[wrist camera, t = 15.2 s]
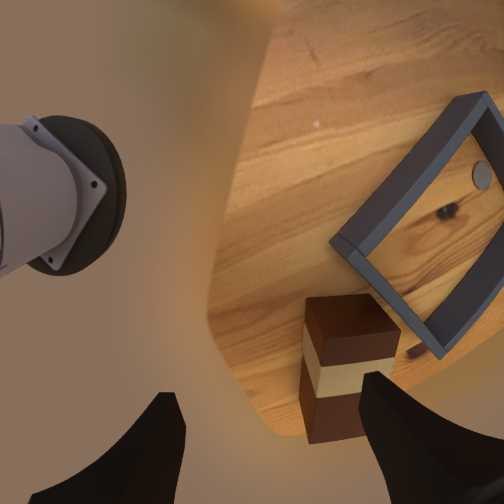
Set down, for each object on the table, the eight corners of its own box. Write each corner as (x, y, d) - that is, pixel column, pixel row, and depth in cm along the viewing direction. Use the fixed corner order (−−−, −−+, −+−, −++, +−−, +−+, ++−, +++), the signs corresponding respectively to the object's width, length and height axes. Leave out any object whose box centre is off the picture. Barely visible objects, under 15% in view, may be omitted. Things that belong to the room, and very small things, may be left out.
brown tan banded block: (297, 397, 22) (308, 445, 17) (305, 297, 19) (323, 339, 15) (352, 391, 22) (371, 435, 17) (370, 292, 20) (403, 330, 15)
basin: (328, 242, 18) (345, 259, 15) (455, 95, 16) (486, 89, 12) (418, 337, 21) (439, 361, 18) (519, 209, 18) (546, 217, 15)
